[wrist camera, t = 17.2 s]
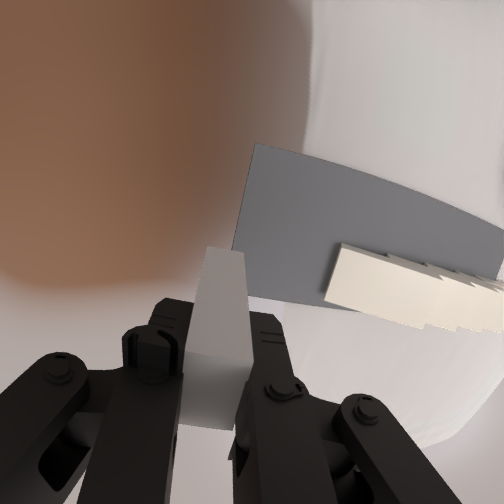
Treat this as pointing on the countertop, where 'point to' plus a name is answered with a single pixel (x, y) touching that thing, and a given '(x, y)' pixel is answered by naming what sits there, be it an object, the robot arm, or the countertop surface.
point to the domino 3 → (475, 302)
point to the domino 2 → (447, 298)
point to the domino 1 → (382, 287)
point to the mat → (345, 226)
